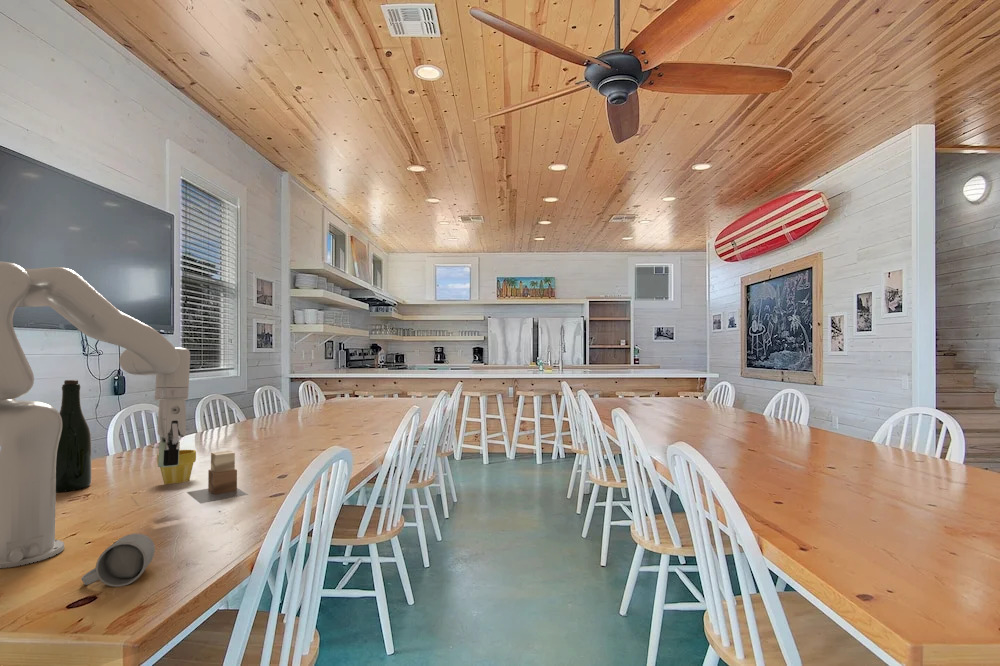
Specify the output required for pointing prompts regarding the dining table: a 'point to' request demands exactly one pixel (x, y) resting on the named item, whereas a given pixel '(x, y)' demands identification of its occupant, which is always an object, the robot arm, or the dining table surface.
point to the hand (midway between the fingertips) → (168, 463)
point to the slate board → (207, 496)
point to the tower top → (222, 461)
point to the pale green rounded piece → (161, 455)
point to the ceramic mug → (122, 561)
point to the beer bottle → (73, 442)
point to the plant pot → (179, 468)
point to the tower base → (222, 481)
